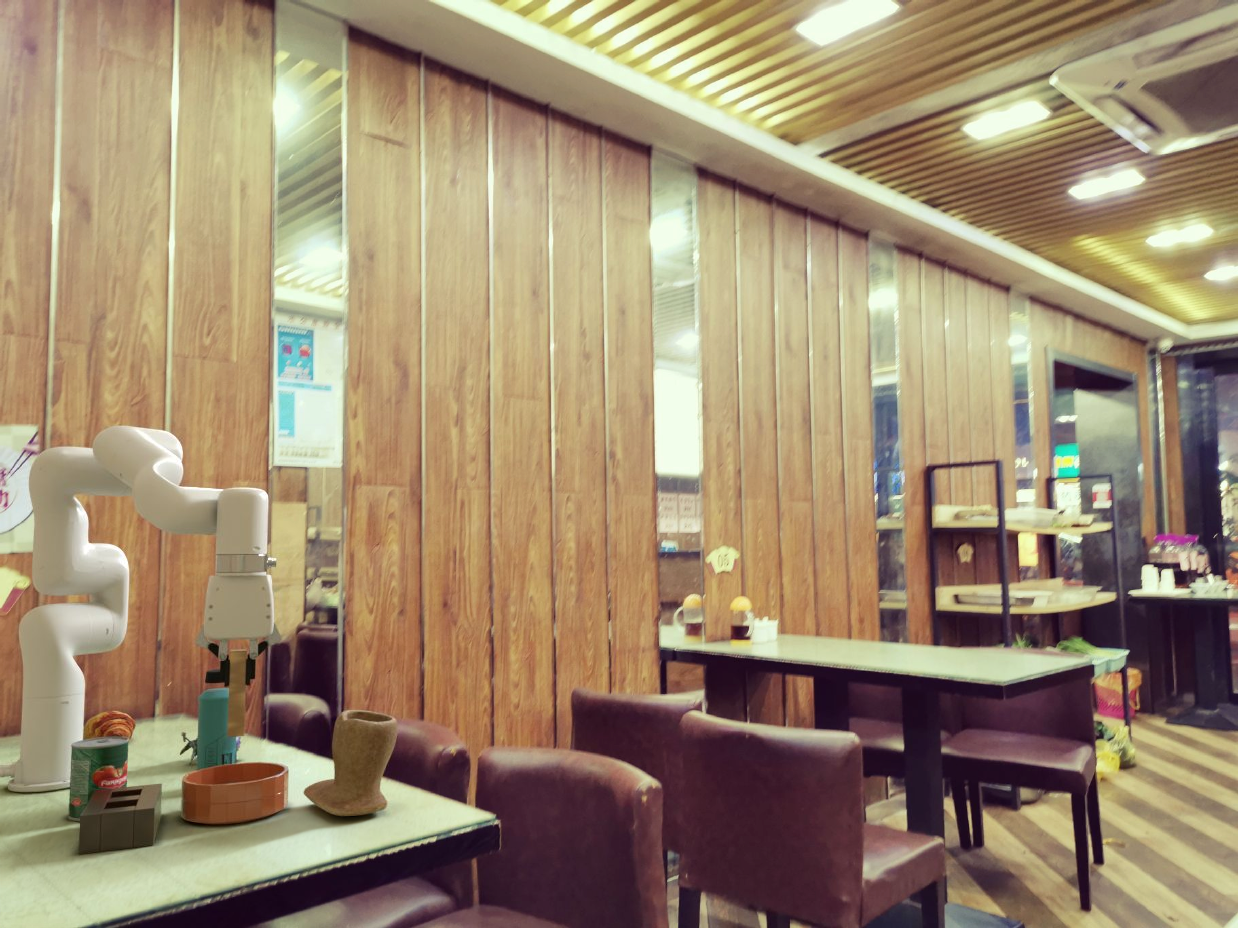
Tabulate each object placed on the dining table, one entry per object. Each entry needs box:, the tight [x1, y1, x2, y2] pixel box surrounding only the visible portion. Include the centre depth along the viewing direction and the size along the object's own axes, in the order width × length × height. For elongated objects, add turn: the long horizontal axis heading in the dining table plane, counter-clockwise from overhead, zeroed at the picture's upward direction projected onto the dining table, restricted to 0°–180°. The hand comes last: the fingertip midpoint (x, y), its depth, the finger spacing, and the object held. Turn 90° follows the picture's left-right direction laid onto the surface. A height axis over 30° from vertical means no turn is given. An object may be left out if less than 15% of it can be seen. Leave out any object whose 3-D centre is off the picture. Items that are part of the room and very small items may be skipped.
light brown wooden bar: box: [227, 648, 248, 737], centre depth 144 cm, size 2×2×13 cm
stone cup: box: [303, 709, 399, 817], centre depth 145 cm, size 15×12×15 cm
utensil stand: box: [78, 783, 163, 855], centre depth 133 cm, size 9×16×5 cm, turn 23°
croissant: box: [83, 710, 137, 740], centre depth 202 cm, size 21×10×8 cm, turn 41°
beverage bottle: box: [195, 668, 238, 770], centre depth 160 cm, size 6×7×20 cm
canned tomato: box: [67, 737, 130, 822], centre depth 144 cm, size 8×8×11 cm
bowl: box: [180, 761, 289, 825], centre depth 143 cm, size 15×15×6 cm
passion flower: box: [179, 731, 242, 765], centre depth 179 cm, size 11×11×12 cm
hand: (237, 683), depth 144 cm, fingers closed on light brown wooden bar, 2 cm apart
